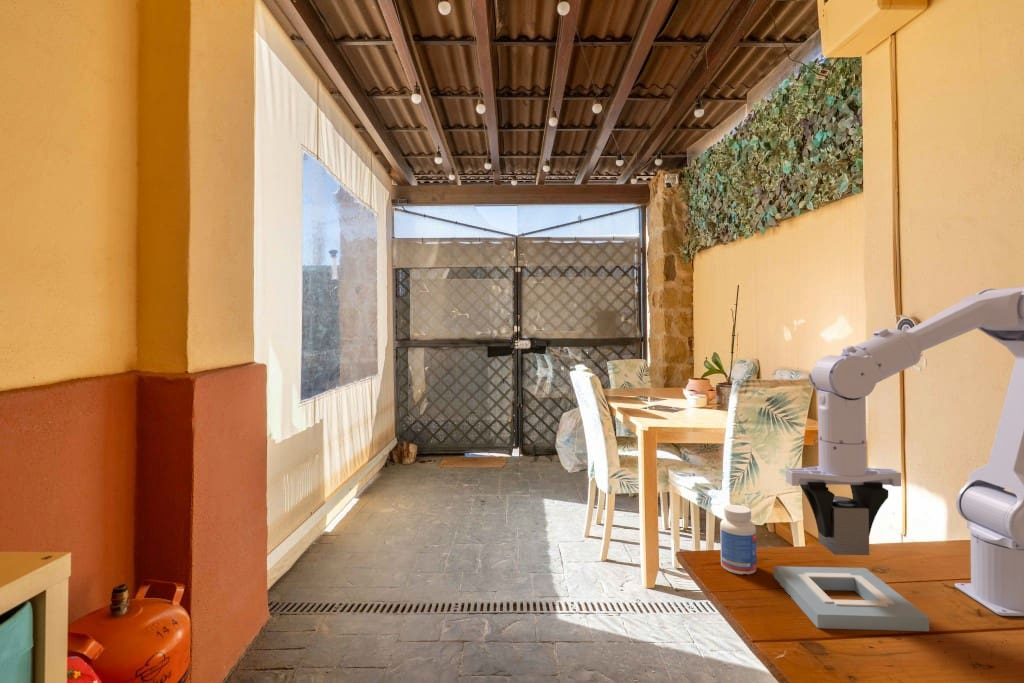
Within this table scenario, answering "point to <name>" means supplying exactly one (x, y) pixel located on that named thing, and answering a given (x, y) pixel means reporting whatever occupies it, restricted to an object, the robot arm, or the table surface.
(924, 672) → the table surface
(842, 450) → the robot arm
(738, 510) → the pill bottle
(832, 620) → the mount plate
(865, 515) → the lens block
